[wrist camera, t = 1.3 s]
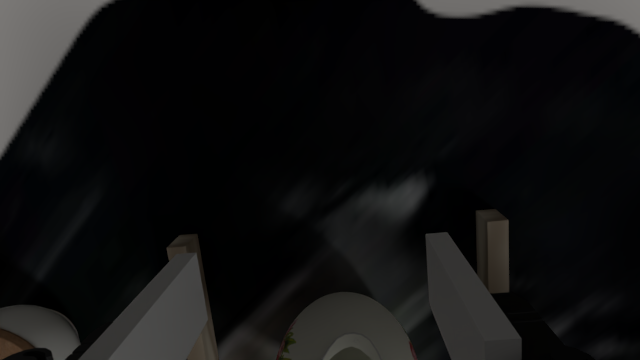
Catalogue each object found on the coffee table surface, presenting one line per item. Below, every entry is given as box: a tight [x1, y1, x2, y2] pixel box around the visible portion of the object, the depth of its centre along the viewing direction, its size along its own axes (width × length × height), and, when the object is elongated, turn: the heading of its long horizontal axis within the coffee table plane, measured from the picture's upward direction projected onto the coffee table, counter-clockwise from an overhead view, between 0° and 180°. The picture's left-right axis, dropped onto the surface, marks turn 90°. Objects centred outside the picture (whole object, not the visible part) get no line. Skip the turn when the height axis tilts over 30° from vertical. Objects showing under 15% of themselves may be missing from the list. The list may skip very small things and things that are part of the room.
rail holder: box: [167, 209, 509, 360], centre depth 38 cm, size 27×15×3 cm, turn 96°
